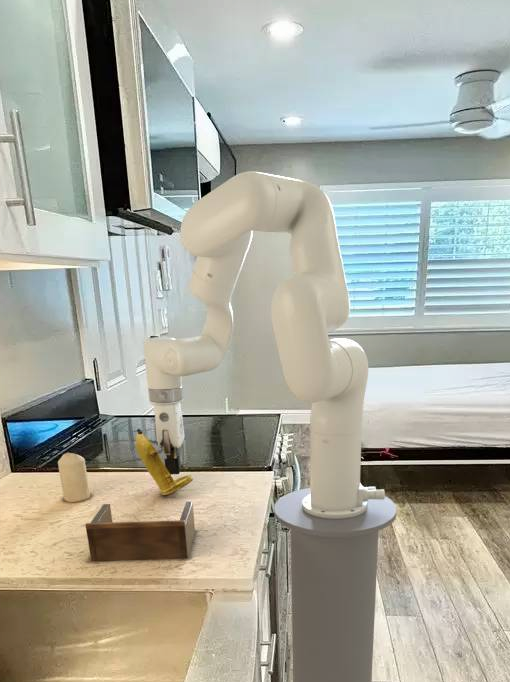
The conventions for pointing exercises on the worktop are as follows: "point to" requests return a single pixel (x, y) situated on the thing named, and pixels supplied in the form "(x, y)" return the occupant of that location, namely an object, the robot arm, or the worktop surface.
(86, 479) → the candle
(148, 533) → the wooden u-shaped stand
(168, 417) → the robot arm
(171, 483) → the ripe yellow banana
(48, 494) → the worktop surface
